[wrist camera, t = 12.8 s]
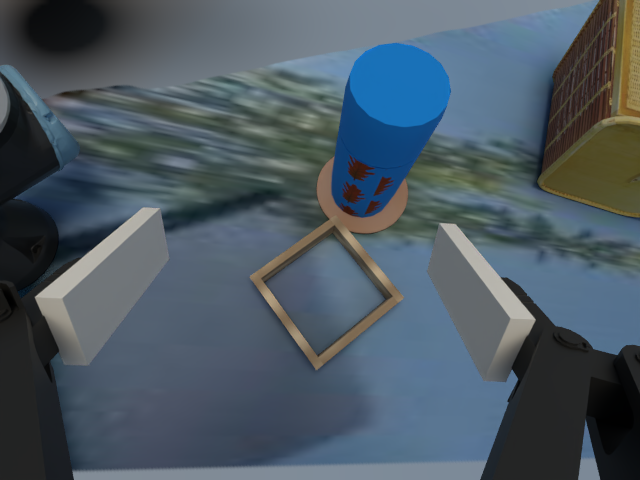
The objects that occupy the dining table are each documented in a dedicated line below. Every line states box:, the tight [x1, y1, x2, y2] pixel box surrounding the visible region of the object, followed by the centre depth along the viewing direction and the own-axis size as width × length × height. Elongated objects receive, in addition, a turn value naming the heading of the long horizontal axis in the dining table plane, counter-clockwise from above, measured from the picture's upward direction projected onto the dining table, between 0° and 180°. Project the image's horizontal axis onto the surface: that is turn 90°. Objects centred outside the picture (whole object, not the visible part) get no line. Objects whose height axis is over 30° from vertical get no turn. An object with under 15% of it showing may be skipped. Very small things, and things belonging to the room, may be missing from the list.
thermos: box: [331, 43, 451, 218], centre depth 46 cm, size 11×11×25 cm
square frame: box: [250, 215, 404, 370], centre depth 51 cm, size 16×16×4 cm
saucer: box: [317, 156, 408, 234], centre depth 58 cm, size 16×16×1 cm
